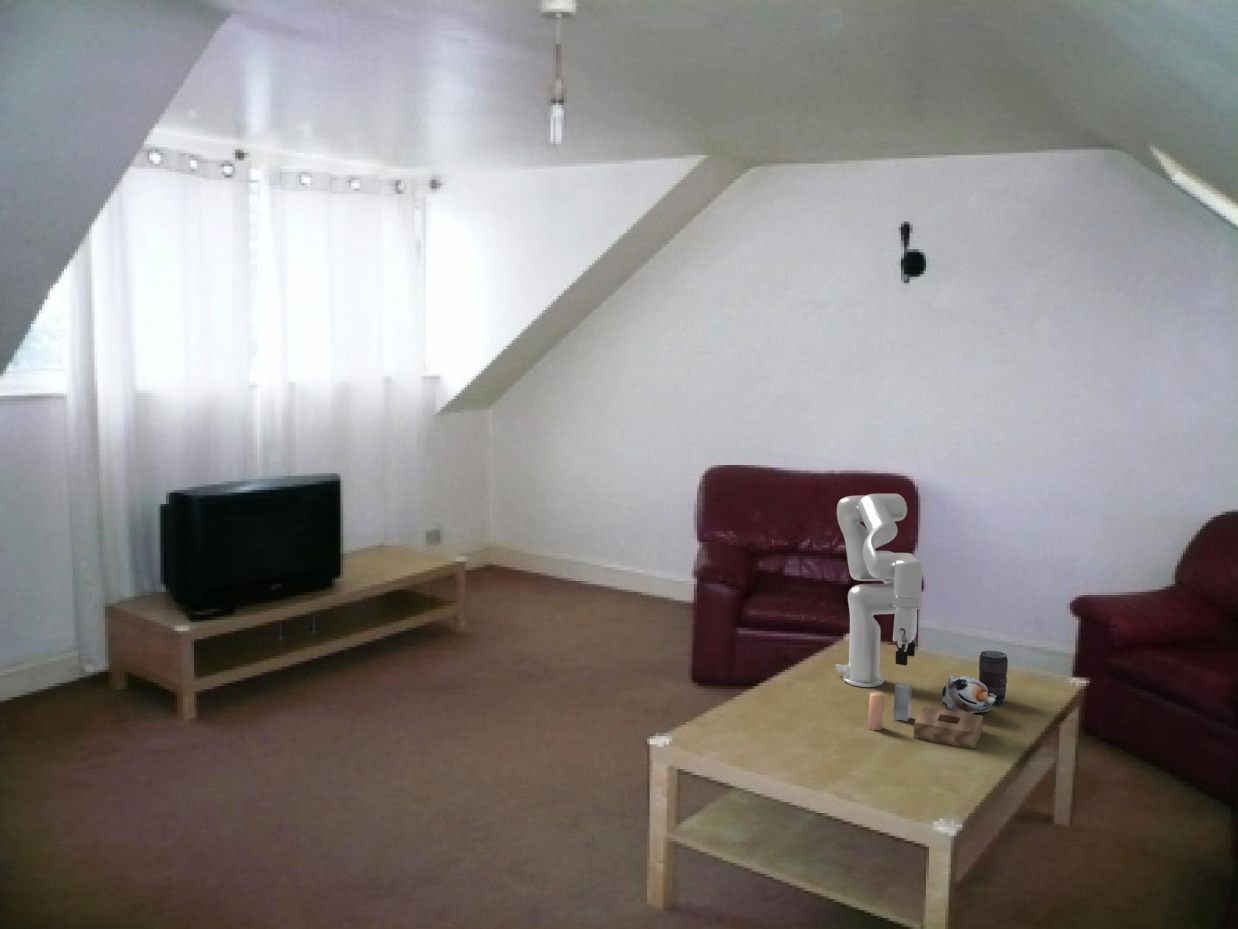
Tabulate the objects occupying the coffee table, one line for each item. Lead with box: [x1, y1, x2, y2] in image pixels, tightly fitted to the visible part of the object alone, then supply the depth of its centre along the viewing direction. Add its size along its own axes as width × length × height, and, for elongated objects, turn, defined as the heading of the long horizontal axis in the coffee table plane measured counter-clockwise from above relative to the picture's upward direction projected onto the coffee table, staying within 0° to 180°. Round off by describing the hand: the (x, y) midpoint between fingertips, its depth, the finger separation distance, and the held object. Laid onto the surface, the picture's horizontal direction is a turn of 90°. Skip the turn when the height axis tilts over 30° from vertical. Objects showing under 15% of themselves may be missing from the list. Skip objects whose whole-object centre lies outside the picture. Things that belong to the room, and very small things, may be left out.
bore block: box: [913, 705, 984, 749], centre depth 286 cm, size 16×14×4 cm
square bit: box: [893, 681, 913, 722], centre depth 297 cm, size 4×4×10 cm
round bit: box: [867, 691, 885, 731], centre depth 290 cm, size 4×4×10 cm
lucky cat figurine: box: [941, 675, 996, 714], centre depth 303 cm, size 15×12×14 cm
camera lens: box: [978, 650, 1009, 706], centre depth 311 cm, size 8×8×15 cm
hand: (905, 660), depth 295 cm, fingers open, 9 cm apart
